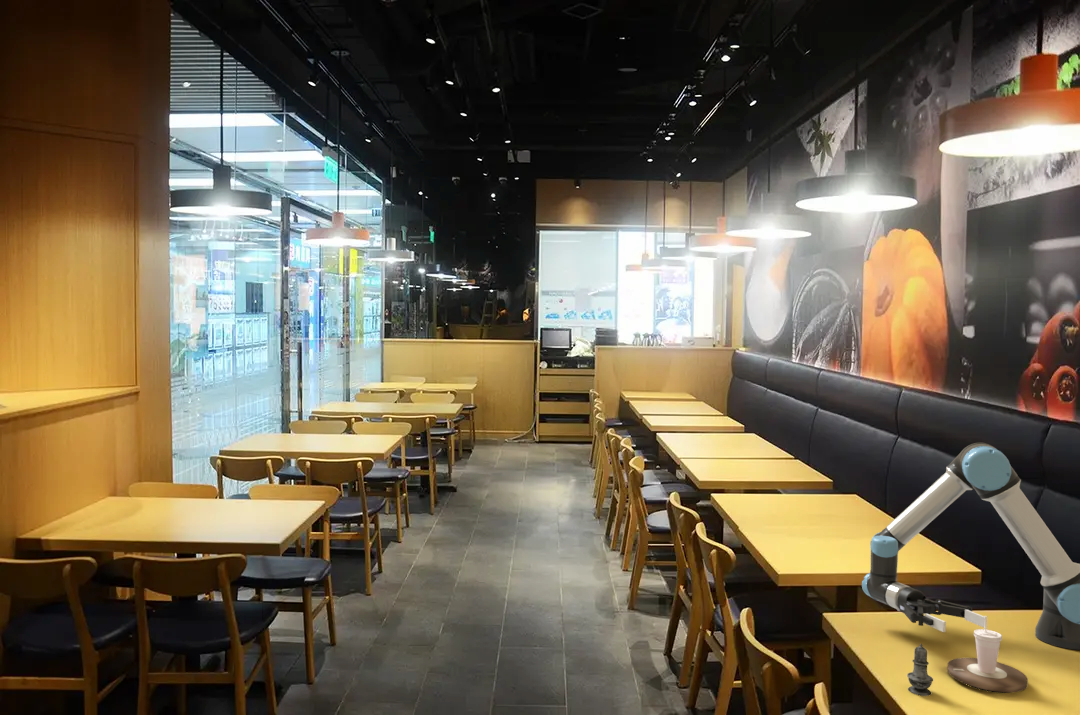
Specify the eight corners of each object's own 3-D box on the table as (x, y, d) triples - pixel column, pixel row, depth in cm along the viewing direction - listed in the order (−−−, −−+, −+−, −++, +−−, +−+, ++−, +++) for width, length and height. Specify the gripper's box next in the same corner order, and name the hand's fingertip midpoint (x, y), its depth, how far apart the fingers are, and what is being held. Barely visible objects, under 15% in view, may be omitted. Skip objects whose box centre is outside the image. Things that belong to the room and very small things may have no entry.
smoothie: (975, 663, 211) (977, 610, 211) (1003, 670, 207) (1004, 616, 207) (970, 671, 206) (971, 616, 206) (998, 678, 202) (1000, 622, 202)
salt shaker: (935, 697, 196) (937, 649, 196) (910, 695, 197) (911, 646, 197) (929, 687, 202) (930, 640, 202) (904, 685, 203) (905, 638, 203)
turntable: (1004, 664, 215) (1004, 658, 215) (1042, 693, 197) (1042, 687, 197) (935, 661, 216) (935, 655, 216) (967, 690, 198) (967, 684, 198)
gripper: (940, 608, 237) (1001, 634, 217) (870, 615, 230) (926, 643, 210) (941, 583, 237) (1002, 606, 217) (871, 589, 230) (927, 614, 209)
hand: (965, 624), depth 213 cm, fingers open, 13 cm apart
